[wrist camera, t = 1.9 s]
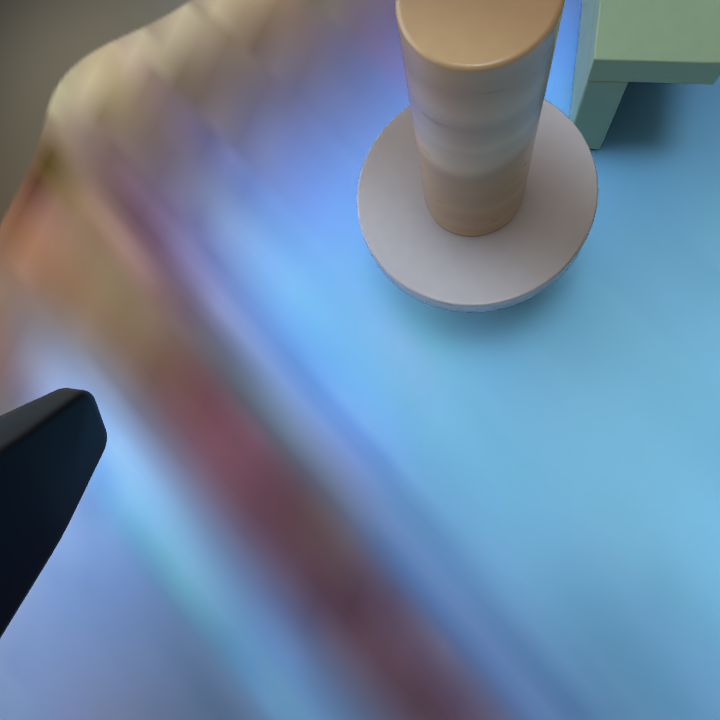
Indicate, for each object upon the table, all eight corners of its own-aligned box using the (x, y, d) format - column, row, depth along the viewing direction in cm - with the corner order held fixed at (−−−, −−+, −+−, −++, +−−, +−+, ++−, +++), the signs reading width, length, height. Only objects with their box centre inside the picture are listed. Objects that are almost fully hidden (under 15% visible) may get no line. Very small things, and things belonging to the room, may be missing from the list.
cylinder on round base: (538, 364, 21) (633, 230, 9) (354, 310, 22) (226, 133, 10) (593, 184, 22) (748, -160, 10) (411, 143, 23) (353, -201, 11)
